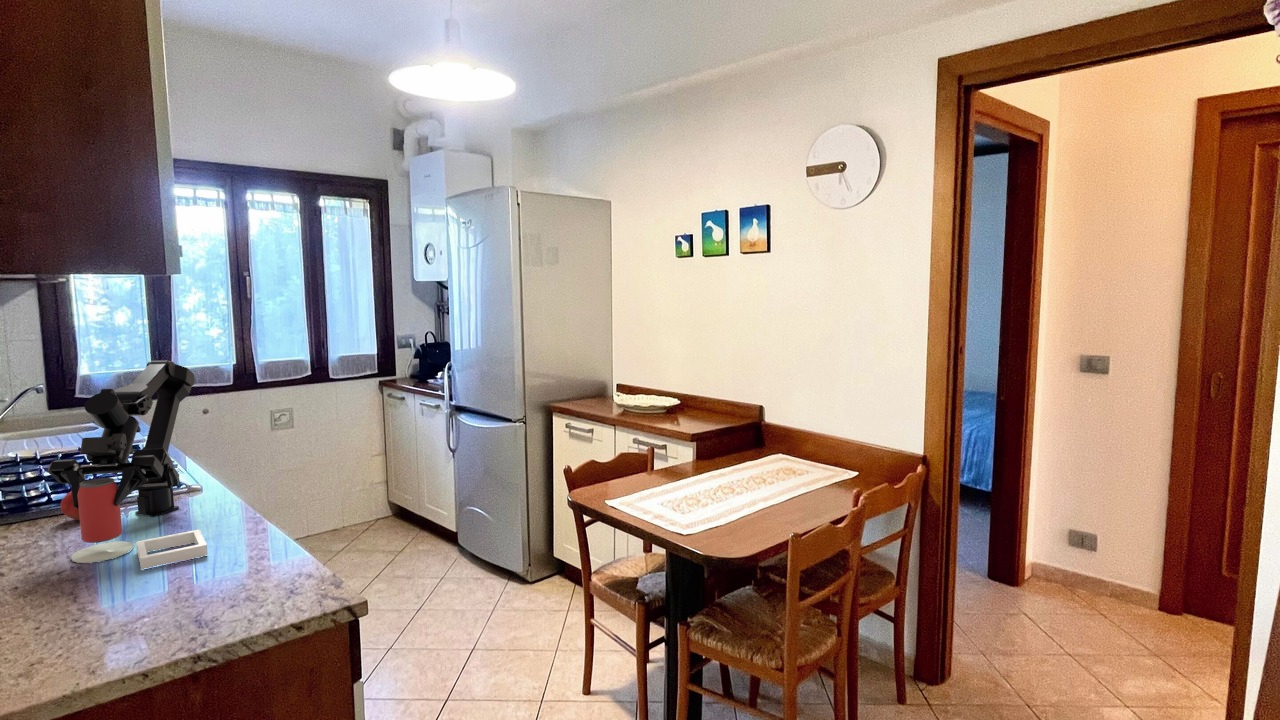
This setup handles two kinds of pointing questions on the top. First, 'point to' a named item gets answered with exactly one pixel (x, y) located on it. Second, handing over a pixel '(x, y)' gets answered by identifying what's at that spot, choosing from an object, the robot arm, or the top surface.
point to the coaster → (101, 552)
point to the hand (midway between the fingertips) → (95, 506)
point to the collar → (171, 555)
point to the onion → (69, 507)
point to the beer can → (99, 510)
